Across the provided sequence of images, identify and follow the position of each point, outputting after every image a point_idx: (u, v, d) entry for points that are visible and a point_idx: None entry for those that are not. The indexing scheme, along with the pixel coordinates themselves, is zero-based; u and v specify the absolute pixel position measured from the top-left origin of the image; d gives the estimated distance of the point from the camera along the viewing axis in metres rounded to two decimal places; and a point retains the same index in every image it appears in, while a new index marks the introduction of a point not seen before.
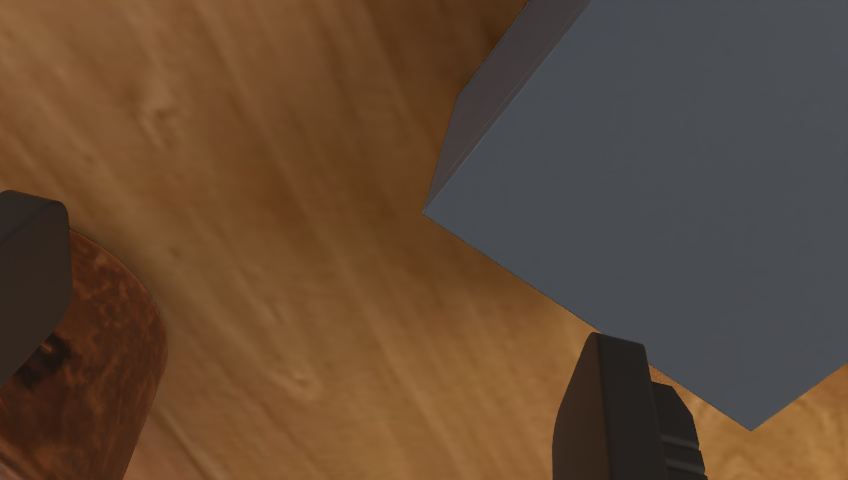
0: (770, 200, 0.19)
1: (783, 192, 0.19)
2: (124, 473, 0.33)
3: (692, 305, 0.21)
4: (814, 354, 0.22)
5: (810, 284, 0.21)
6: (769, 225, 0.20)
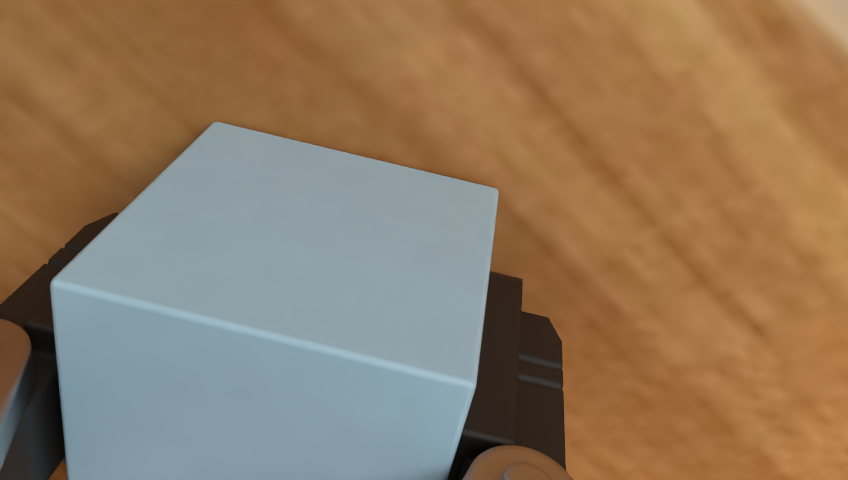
0: None
1: None
2: None
3: None
4: None
5: None
6: None
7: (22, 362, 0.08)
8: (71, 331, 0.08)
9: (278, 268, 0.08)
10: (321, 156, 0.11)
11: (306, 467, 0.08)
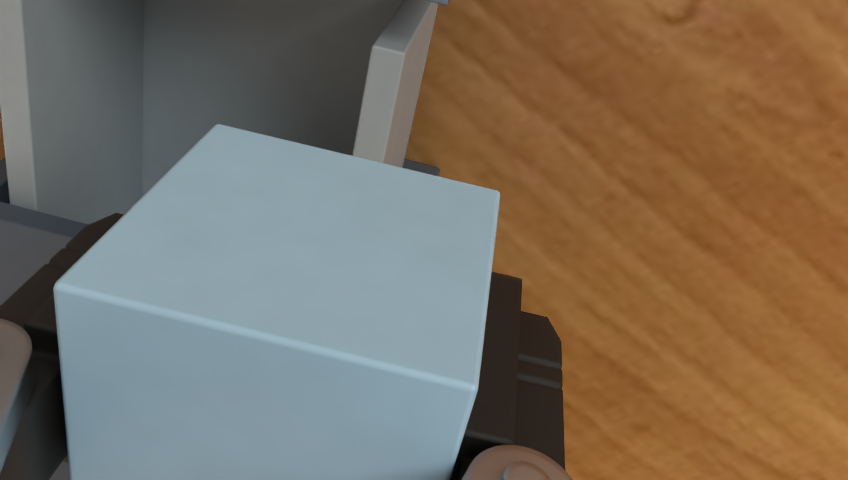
0: None
1: None
2: None
3: None
4: None
5: None
6: None
7: (23, 362, 0.08)
8: (75, 333, 0.08)
9: (280, 271, 0.08)
10: (324, 158, 0.11)
11: (308, 469, 0.08)
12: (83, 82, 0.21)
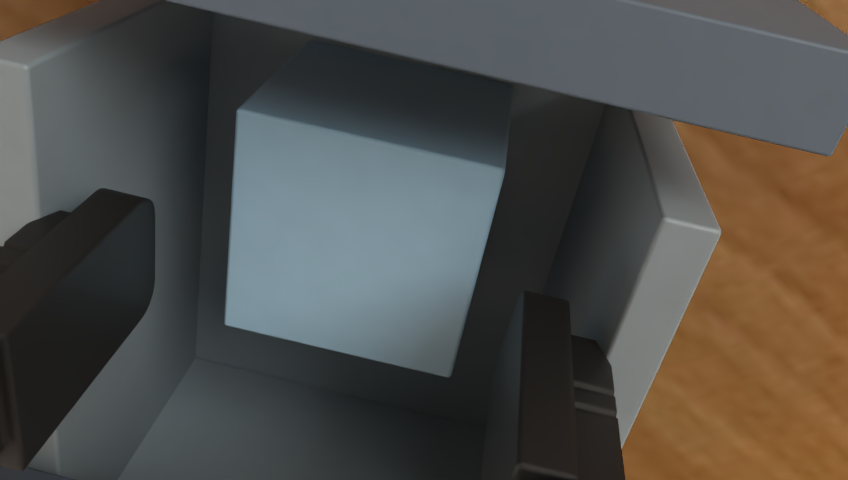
0: None
1: None
2: None
3: None
4: None
5: None
6: None
7: None
8: (247, 144, 0.12)
9: (373, 112, 0.13)
10: (388, 61, 0.15)
11: (393, 241, 0.13)
12: None
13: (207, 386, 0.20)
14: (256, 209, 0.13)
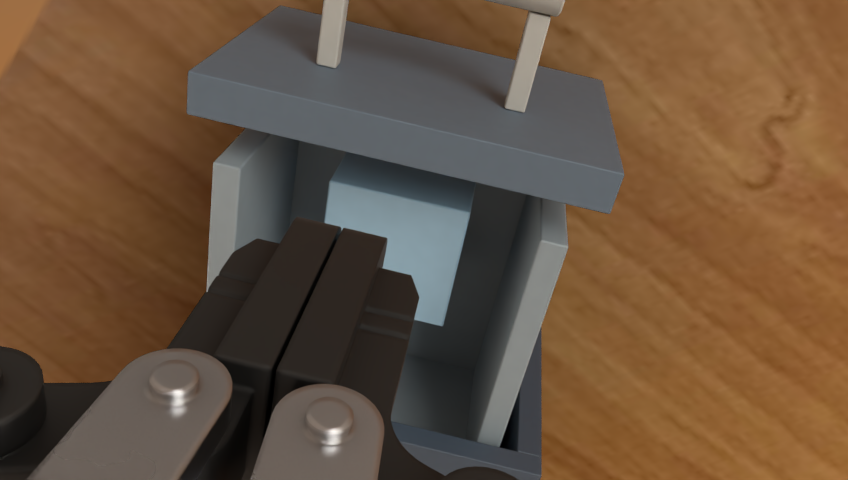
0: None
1: None
2: None
3: None
4: None
5: None
6: None
7: (226, 395, 0.08)
8: (334, 198, 0.23)
9: (400, 180, 0.23)
10: None
11: (411, 249, 0.23)
12: None
13: None
14: None
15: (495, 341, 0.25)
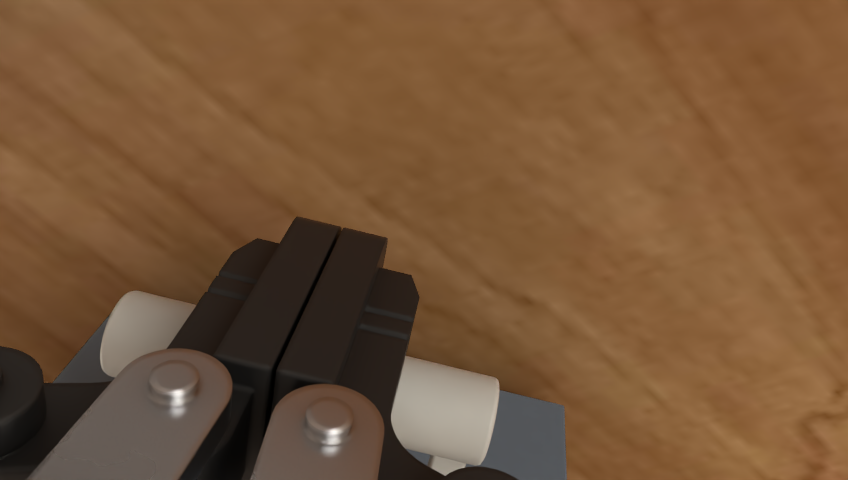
0: None
1: None
2: None
3: None
4: None
5: None
6: None
7: (225, 395, 0.08)
8: None
9: None
10: None
11: None
12: None
13: None
14: None
15: None
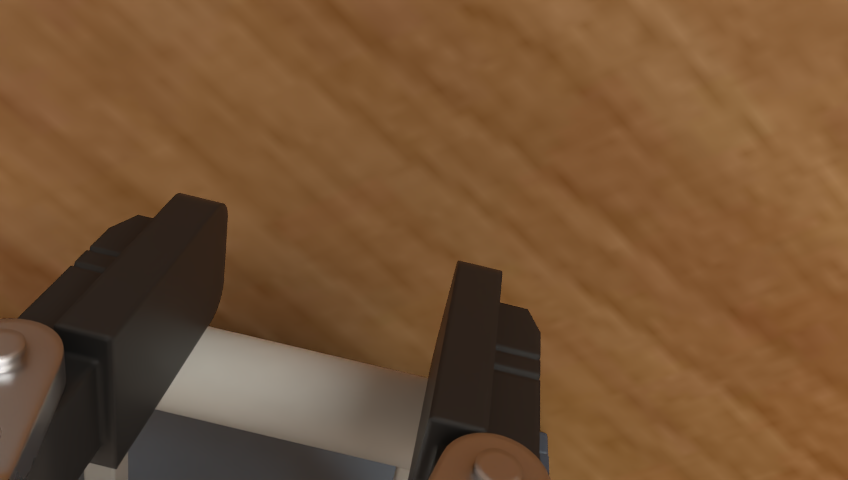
0: None
1: None
2: None
3: None
4: None
5: None
6: None
7: (55, 364, 0.08)
8: None
9: None
10: None
11: None
12: None
13: None
14: None
15: None
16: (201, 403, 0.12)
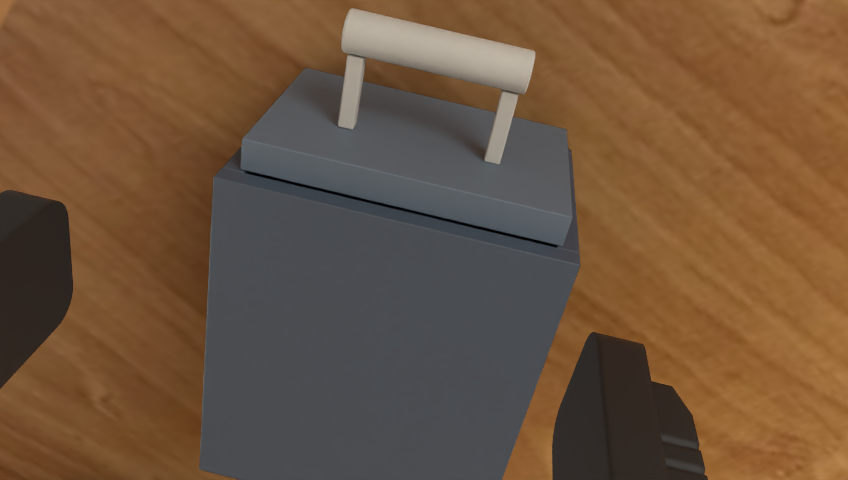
0: (376, 409, 0.29)
1: (380, 403, 0.29)
2: None
3: (382, 476, 0.31)
4: None
5: (438, 446, 0.30)
6: (387, 422, 0.30)
7: None
8: None
9: None
10: None
11: None
12: None
13: None
14: None
15: None
16: (412, 51, 0.25)
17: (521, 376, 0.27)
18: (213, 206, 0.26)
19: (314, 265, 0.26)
